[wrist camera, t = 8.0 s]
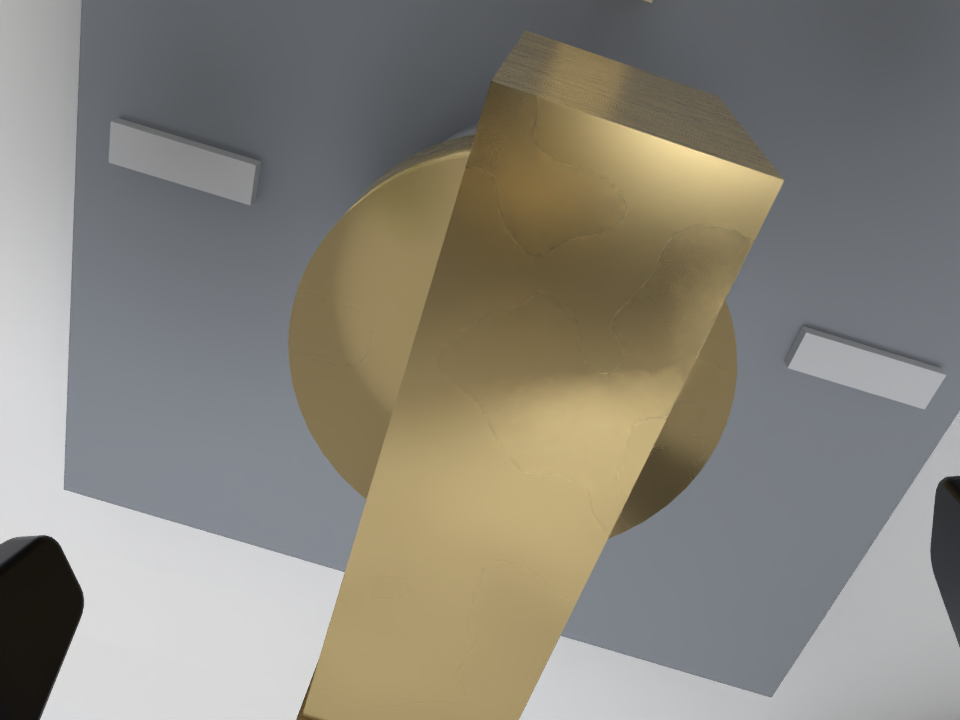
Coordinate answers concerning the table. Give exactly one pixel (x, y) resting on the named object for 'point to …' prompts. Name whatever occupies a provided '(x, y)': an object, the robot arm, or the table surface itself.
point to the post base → (373, 112)
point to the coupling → (518, 369)
